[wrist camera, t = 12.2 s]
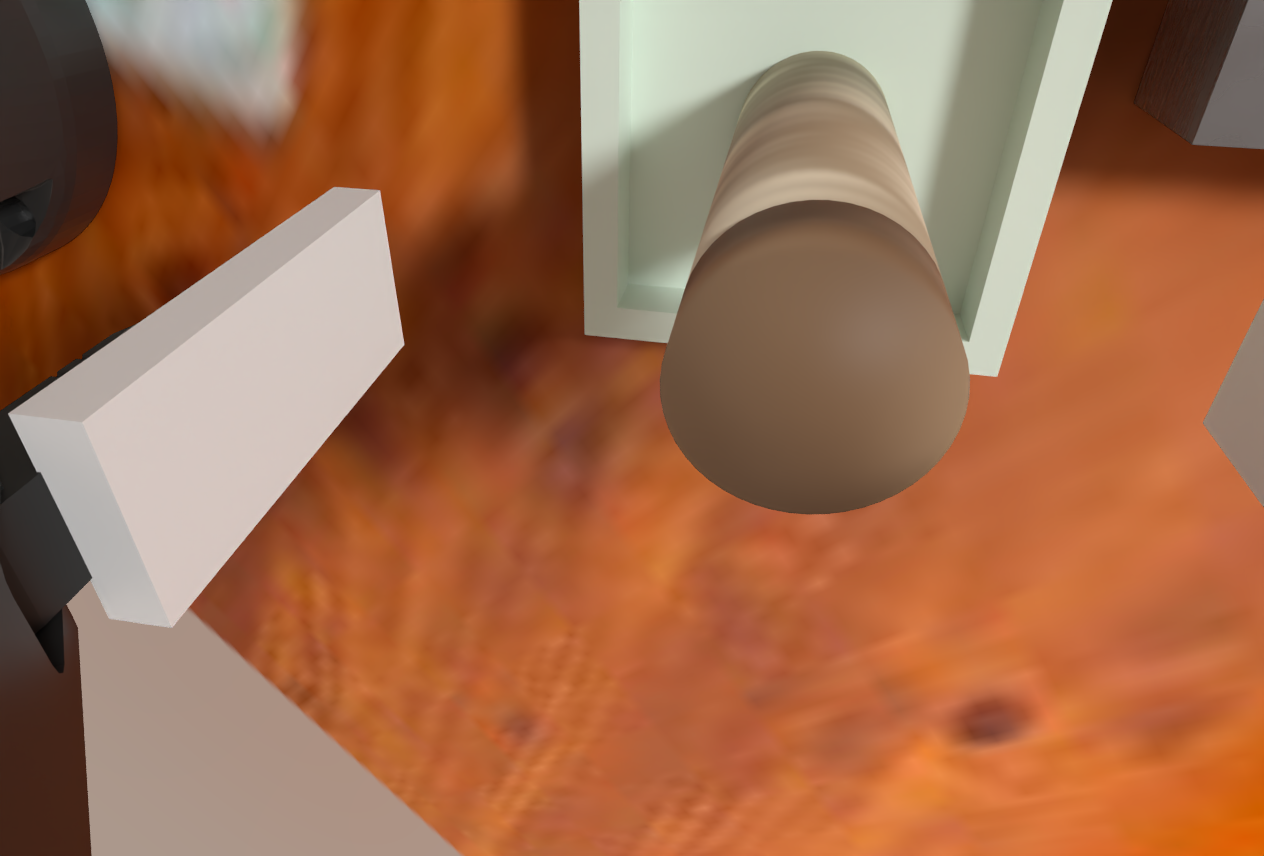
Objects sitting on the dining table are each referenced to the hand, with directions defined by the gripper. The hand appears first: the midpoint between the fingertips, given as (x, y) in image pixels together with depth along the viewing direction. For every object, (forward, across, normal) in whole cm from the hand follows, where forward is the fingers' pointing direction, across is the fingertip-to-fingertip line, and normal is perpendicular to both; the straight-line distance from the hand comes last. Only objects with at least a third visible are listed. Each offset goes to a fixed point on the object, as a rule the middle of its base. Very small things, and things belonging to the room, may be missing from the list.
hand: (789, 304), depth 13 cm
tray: (+12, +1, 0) cm, 12 cm away
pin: (+12, 0, 0) cm, 12 cm away
